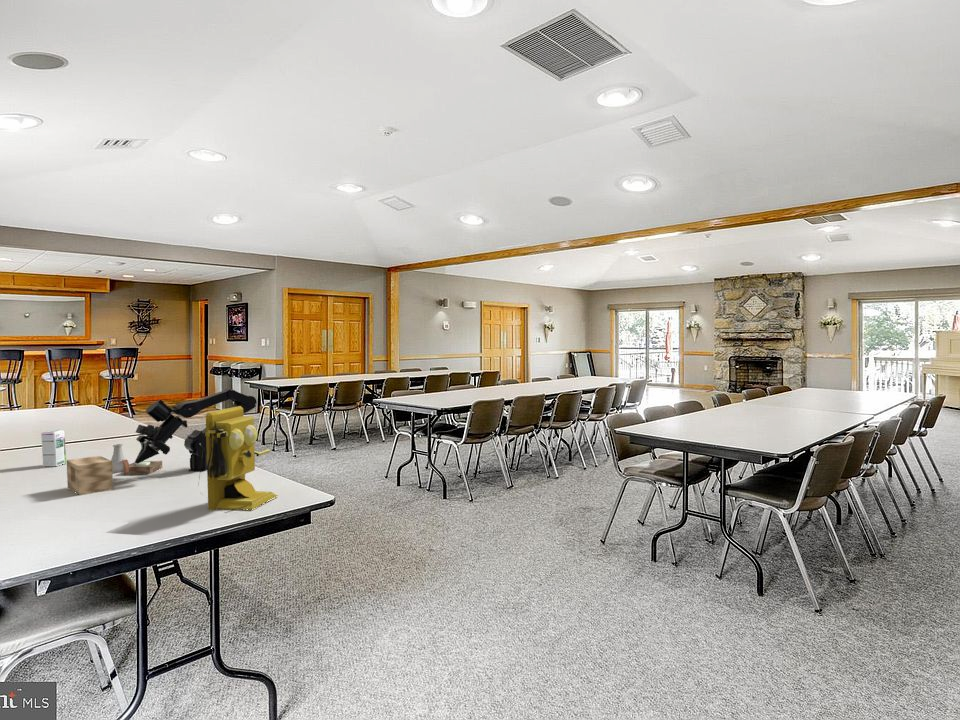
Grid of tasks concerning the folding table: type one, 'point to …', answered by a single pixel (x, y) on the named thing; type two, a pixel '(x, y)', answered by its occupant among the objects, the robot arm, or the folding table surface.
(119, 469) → the plunger
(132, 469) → the button housing
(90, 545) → the folding table surface
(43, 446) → the syrup box
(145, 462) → the table button
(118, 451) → the flask
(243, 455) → the vintage telephone
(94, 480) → the wooden box
